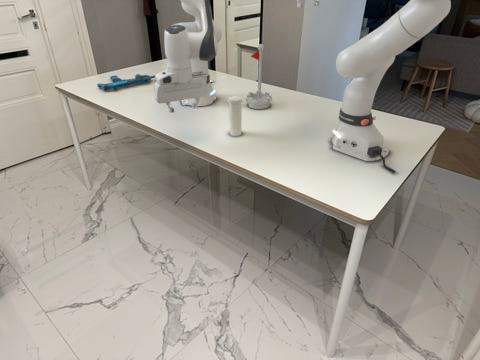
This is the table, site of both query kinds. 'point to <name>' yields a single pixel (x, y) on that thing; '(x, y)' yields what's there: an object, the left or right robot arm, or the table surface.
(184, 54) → the left robot arm
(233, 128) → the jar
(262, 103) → the flag stand
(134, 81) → the submachine gun
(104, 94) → the table surface
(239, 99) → the lid
